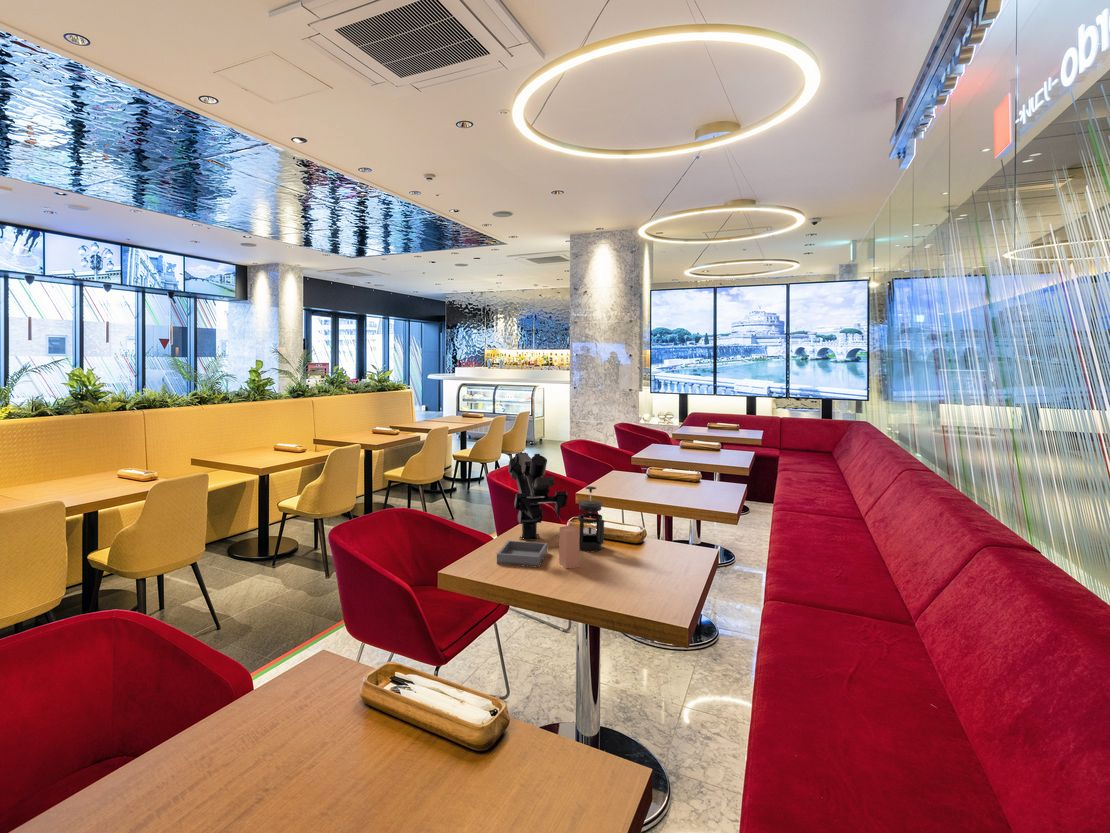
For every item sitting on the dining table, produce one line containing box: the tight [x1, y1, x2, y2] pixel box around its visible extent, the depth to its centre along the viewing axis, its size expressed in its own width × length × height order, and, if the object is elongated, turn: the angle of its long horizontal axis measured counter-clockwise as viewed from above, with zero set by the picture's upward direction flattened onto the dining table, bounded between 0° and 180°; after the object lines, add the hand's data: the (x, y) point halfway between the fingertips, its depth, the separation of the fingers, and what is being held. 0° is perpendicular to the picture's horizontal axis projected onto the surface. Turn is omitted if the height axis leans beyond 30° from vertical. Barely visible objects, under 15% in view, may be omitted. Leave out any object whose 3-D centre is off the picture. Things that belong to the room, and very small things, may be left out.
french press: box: [577, 485, 605, 553], centre depth 208 cm, size 12×9×23 cm
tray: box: [496, 540, 548, 568], centre depth 198 cm, size 15×15×4 cm
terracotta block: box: [558, 525, 580, 569], centre depth 191 cm, size 5×5×13 cm
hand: (546, 517), depth 195 cm, fingers open, 9 cm apart
